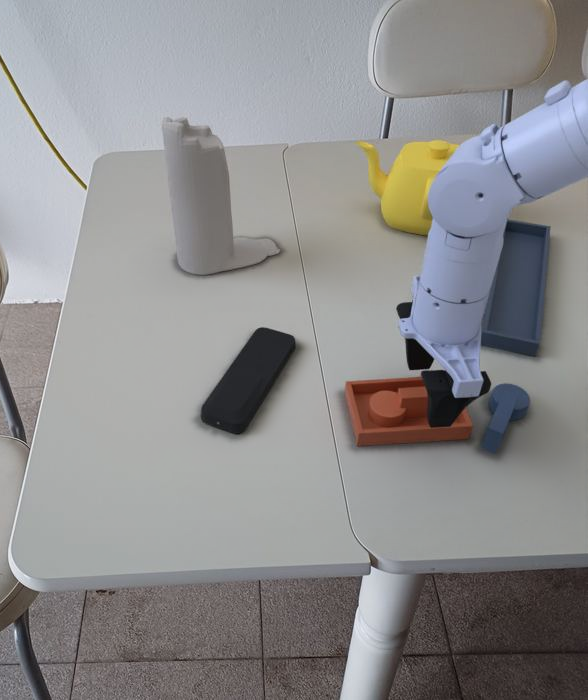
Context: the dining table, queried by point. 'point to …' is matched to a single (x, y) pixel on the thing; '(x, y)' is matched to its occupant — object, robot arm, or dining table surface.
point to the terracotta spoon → (397, 406)
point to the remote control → (248, 380)
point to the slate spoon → (504, 412)
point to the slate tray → (518, 290)
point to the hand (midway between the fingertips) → (428, 394)
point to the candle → (204, 202)
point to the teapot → (408, 183)
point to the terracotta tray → (410, 427)
